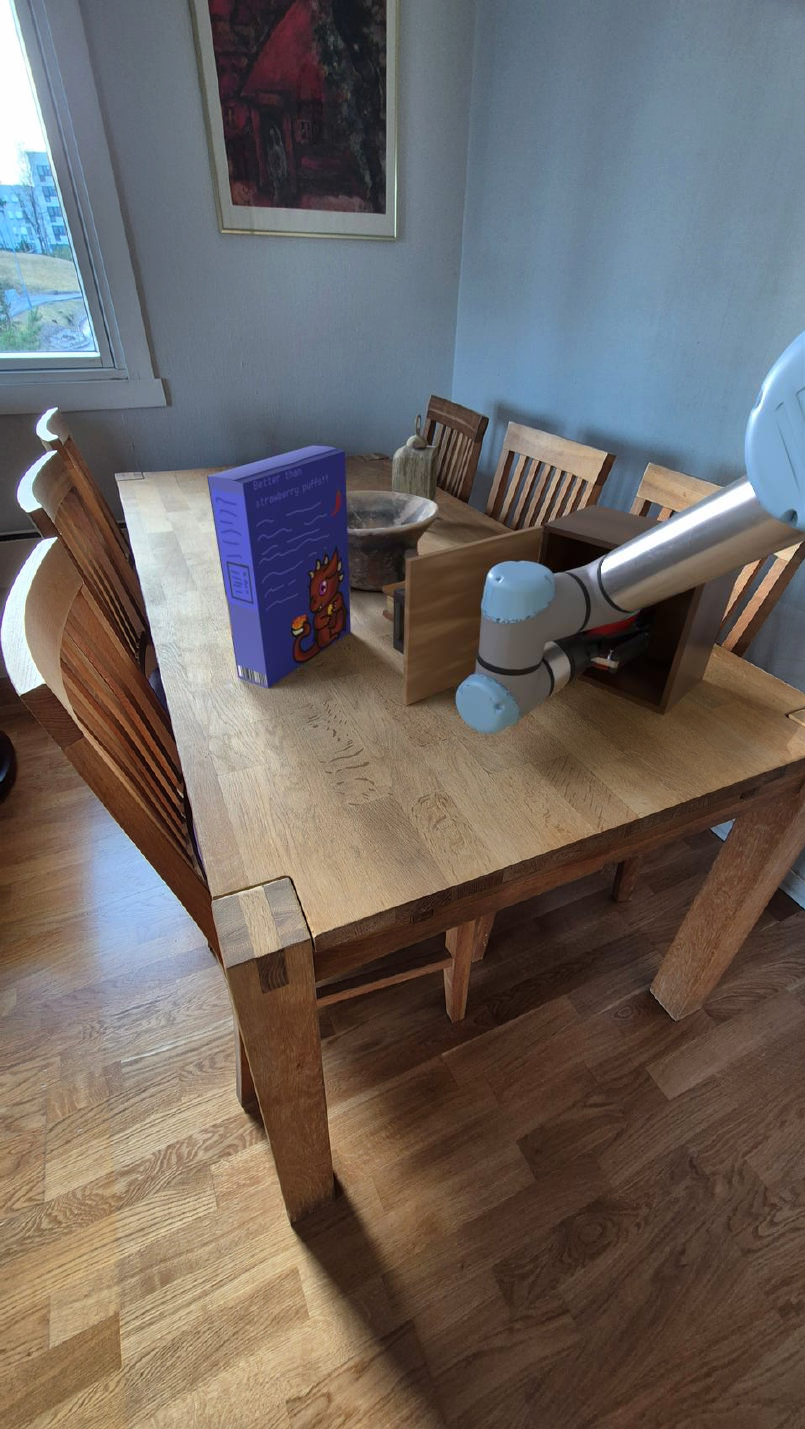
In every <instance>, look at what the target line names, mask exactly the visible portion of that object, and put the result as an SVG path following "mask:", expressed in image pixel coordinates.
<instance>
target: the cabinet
mask: <svg viewBox="0 0 805 1429" xmlns="http://www.w3.org/2000/svg"><path fill="white" fill-rule="evenodd" d="M662 522H664V521H663V520H659V519H655V518H650V517H647V516H642V515H638V514H635V513H630V512H625V511H622V510H617V509H614V508H609V507H605V506H602V505H597V504H590V505H587V506H585V507H583V508H581V509H578V510H575V511H573V512H570V513H567V514H565V515H562V516H560V517H557V518H555V519H552V520H550V521H548V522H545V523H544V524H543V532H542V538H541V545H540V552H539V559H538V564H540V565H543V566H545V567H547V568H548V569H549V570H550V571H551V572H552V573H553V574H555V573H560V572H565V571H569V570H573V569H576V568H580V567H583V566H586V565H588V564H590V563H592V562H594V561H595V560H597V559H599V558H601V557H602V556H604V555H606V554H608V553H610V552H611V551H613V550H614V549H616V548H618V547H620V546H621V545H623V544H625V543H627V542H628V541H630V540H632V539H634V538H635V537H637V536H639V535H641V534H643V533H644V532H646V531H648V530H650V529H651V528H653V527H655V526H657V525H658V524H660V523H662ZM740 571H741V568H739V569H736V570H734V571H732V572H729V573H727V574H724V575H722V576H720V577H717V578H715V579H712V580H710V581H708V582H705V583H703V584H700V585H698V586H696V587H693V588H691V589H689V590H686V591H684V592H681V593H679V594H677V595H674V596H672V597H669V598H667V599H665V600H662V601H660V602H657V603H655V604H653V605H650V606H648V607H646V608H643V609H641V610H640V612H639V616H638V618H640V617H641V616H642V615H644V614H645V613H647V612H648V611H650V610H651V609H652V610H655V611H656V614H655V617H654V621H653V625H652V627H651V628H650V631H649V633H651V634H652V637H651V640H650V644H649V648H648V651H646V652H644V653H642V654H641V655H639V656H637V657H635V658H633V659H632V660H630V661H628V662H626V664H625V665H623V666H621V667H619V668H618V670H617V672H615V673H611V672H609V671H608V669H600V668H597V667H594V666H591V667H587V668H586V669H585V671H584V672H583V673H582V674H581V675H580V676H579V677H578V678H576V679H577V680H580V681H581V682H584V683H586V684H589V685H591V686H593V687H596V688H598V689H600V690H603V691H606V692H608V693H610V694H612V695H615V696H618V697H619V698H622V699H624V700H626V701H629V702H631V703H634V704H636V705H639V706H641V707H644V708H646V709H648V710H650V711H653V712H655V713H658V714H660V715H662V716H664V715H666V714H667V713H668V712H669V711H670V710H671V709H672V708H673V707H674V706H676V705H677V704H678V703H679V702H680V701H681V700H682V699H683V698H684V697H685V696H686V695H687V694H688V693H689V692H690V691H691V690H692V689H694V687H696V686H697V685H698V684H699V683H700V682H701V681H702V680H703V679H704V675H705V673H706V669H707V666H708V664H709V662H710V658H711V655H712V652H713V651H714V650H713V649H714V647H715V643H716V641H717V638H718V635H719V632H720V628H721V626H722V624H723V621H724V618H725V614H726V611H727V608H728V606H729V603H730V600H731V597H732V594H733V591H734V589H735V585H736V583H737V580H738V577H739V574H740ZM580 633H582V634H584V635H586V633H587V630H586V631H582V632H580Z"/></svg>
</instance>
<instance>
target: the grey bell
mask: <svg viewBox="0 0 805 1429" xmlns="http://www.w3.org/2000/svg"><path fill="white" fill-rule="evenodd" d="M421 429H422V415H421V413H417V414H416V416H415V421H414V434H415V435H411V436H410V437H409V438H408V439H407V442H406V444H405V445H404V446H401V447H400V448H398V449H397V450H396V451H395V453H394V455H393V457H392V467H391V468H392V470H391V471H392V472H391V492H397V493H404V494H411V495H415V496H419V497H422V498H426V499H429V500H431V501H433V502H434V503H435V502H436V496H437V482H438V464H439V463H438V460H439V447H438V446H437V445H429V443H428V441H427V439H426V438H425V436H424V435H421Z"/></svg>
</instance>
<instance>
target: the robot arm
mask: <svg viewBox="0 0 805 1429" xmlns="http://www.w3.org/2000/svg"><path fill="white" fill-rule="evenodd" d="M744 463H745V470H746V474H744V475H743V476H741V477H740V478H737V479H735V480H734V481H732V482H730V483H728V484H727V485H725V486H723V487H722V488H720V489H718V490H717V491H715V492H713V493H711V494H709V495H707V496H706V497H704V498H702V499H701V500H699V501H697V502H696V503H694V504H692V505H690V506H688V507H686V508H685V509H683V510H682V511H680V512H677V513H676V514H674V515H672V516H671V517H669V518H667V519H665V520H664V521H663V522H662V523H660V524H658V525H657V526H655V527H653V528H651V529H650V530H648V531H646V532H644V533H643V534H641V535H639V536H637V537H635V538H634V539H632V540H630V541H628V542H627V543H625V544H623V545H621V546H620V547H618V548H616V549H614V550H613V551H611V552H610V553H608V554H606V555H604V556H602V557H601V558H599V559H597V560H595V561H594V562H592V563H590V564H588V565H586V566H583V567H580V568H576V569H573V570H569V571H565V572H560V573H555V574H553V573H552V572H551V571H550V570H549V569H548V568H547V567H545V566H543V565H540V564H537V563H534V562H528V561H520V562H514V561H508V562H503V563H500V564H498V565H496V566H494V567H493V568H492V569H491V570H490V571H489V573H488V575H487V578H486V584H485V586H484V593H483V599H482V602H481V611H482V612H481V628H480V643H479V650H478V654H477V659H476V670H475V673H474V674H472V675H470V676H469V677H468V678H467V679H466V680H465V681H463V682H462V683H461V684H459V686H458V688H457V690H456V691H455V692H456V693H455V704H456V705H455V706H456V708H457V711H458V714H459V715H460V718H461V719H462V720H463V722H464V724H466V725H467V726H468V727H469V728H470V729H472V730H473V731H476V732H477V733H480V734H482V735H485V736H486V735H487V736H489V735H491V736H492V735H496V734H499V733H501V732H503V731H504V730H506V729H508V728H509V727H511V726H515V725H516V724H517V723H518V722H519V721H520V720H521V719H523V718H524V717H525V716H527V715H528V714H530V713H531V712H532V711H534V710H535V709H536V708H538V706H540V705H541V704H543V703H544V702H546V701H547V700H548V699H550V698H551V697H552V696H554V695H555V694H556V693H558V692H560V690H562V689H563V688H565V687H566V686H568V685H569V684H571V683H572V682H574V681H575V680H576V679H577V678H578V677H579V676H580V675H581V674H582V673H583V672H584V671H585V669H586V668H587V667H591V666H595V665H597V664H598V663H599V664H603V665H606V666H608V671H609V672H611V673H615V672H617V670H618V668H619V666H621V665H623V664H624V663H626V662H628V661H630V660H632V659H633V658H635V657H637V656H639V655H641V654H642V653H644V652H646V651H648V648H649V644H650V640H651V637H652V634H651V633H649V631H650V628H651V627H652V625H653V621H654V617H655V614H656V611H655V610H652V609H651V610H650V611H648V612H647V613H645V614H644V615H642V616H641V617H640V618H638V619H637V620H635V621H634V622H632V623H631V627H630V628H627V629H624V630H620V631H616V632H612V633H608V634H604V635H603V634H601V633H596V634H592V635H584V634H582V633H580V632H582V631H586V630H589V629H593V628H596V627H600V626H603V625H607V624H613V623H616V622H619V621H622V620H625V619H627V618H629V617H630V616H633V615H635V614H636V613H638V612H639V611H640V610H641V609H643V608H646V607H648V606H650V605H653V604H655V603H657V602H660V601H662V600H665V599H667V598H669V597H672V596H674V595H677V594H679V593H681V592H684V591H686V590H689V589H691V588H693V587H696V586H698V585H700V584H703V583H705V582H708V581H710V580H712V579H715V578H717V577H720V576H722V575H724V574H727V573H729V572H732V571H734V570H736V569H739V568H740V569H741V568H744V567H746V566H748V565H750V564H753V563H755V562H757V561H760V560H763V559H765V558H767V557H769V556H772V555H774V554H777V553H779V552H782V551H783V550H786V549H788V548H791V547H793V546H796V545H798V544H801V543H803V542H805V329H804V330H803V331H802V332H800V334H799V335H798V336H797V337H796V338H795V339H794V340H793V341H792V342H791V343H790V344H789V345H788V346H787V347H786V348H785V350H784V351H783V352H782V353H781V355H780V356H779V357H778V359H777V360H776V361H775V363H774V364H773V365H772V367H771V369H770V370H769V372H768V373H767V375H766V377H765V378H764V380H763V382H762V384H761V388H760V391H759V393H758V396H757V399H756V402H755V405H754V406H753V407H752V409H751V410H750V413H749V416H748V420H747V425H746V430H745V438H744Z"/></svg>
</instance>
